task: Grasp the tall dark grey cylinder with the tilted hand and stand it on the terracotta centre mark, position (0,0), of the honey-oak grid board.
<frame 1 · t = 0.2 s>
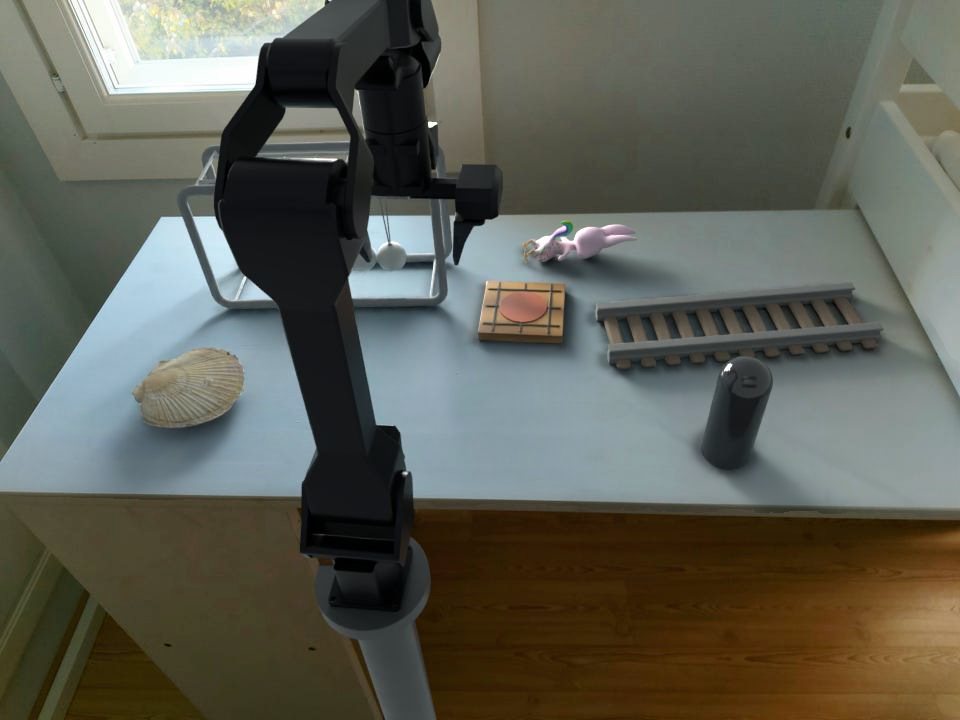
hand: (413, 261, 78), 14 cm above the table, tool pointing down, fingers open, 9 cm apart
model train track: (731, 329, 89), on the table
dark grey cylinder: (725, 450, 76), on the table
seashell: (194, 400, 85), on the table
newton's cradle: (338, 284, 99), on the table
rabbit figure: (578, 256, 101), on the table
board: (523, 314, 93), on the table
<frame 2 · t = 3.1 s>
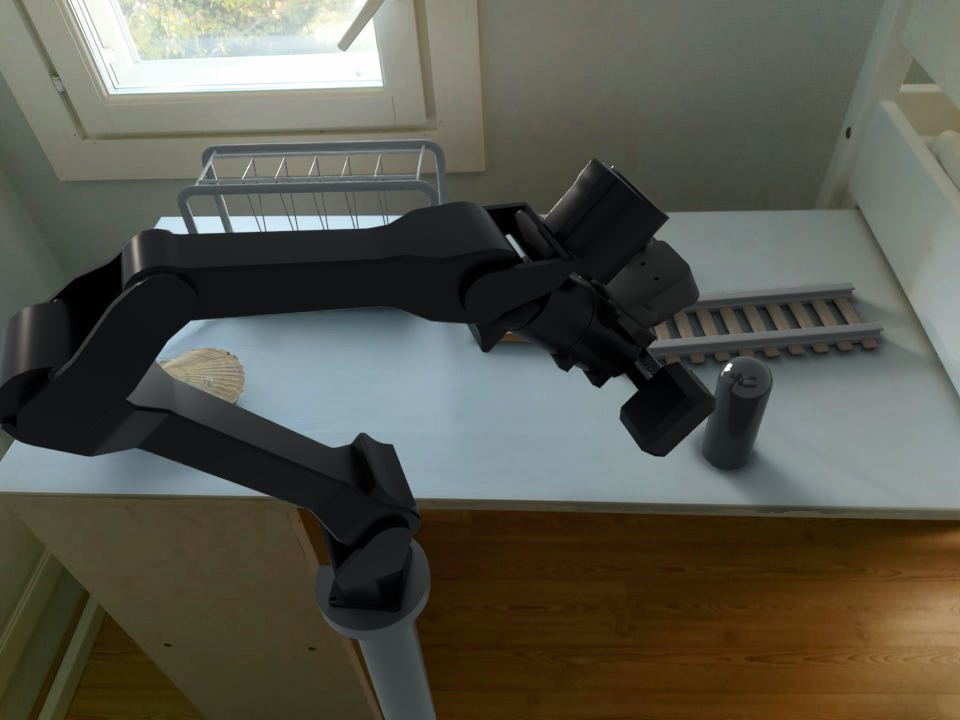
hand: (673, 379, 65), 13 cm above the table, tool tilted 45°, fingers open, 9 cm apart
nothing on the table moved.
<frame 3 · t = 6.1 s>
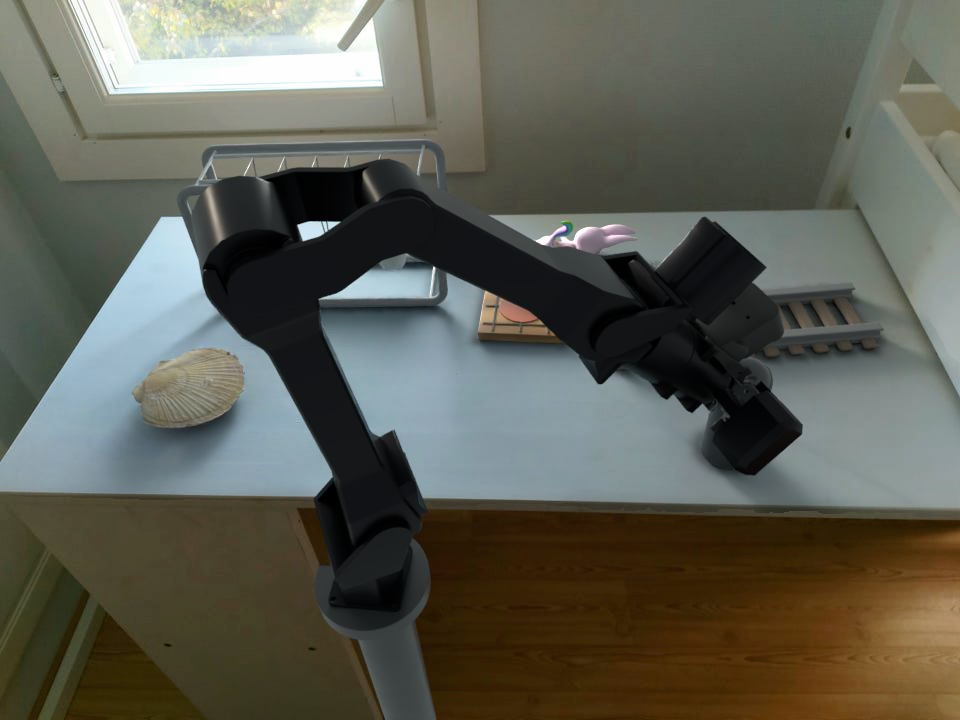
hand: (750, 402, 72), 7 cm above the table, tool tilted 45°, fingers closed on dark grey cylinder, 5 cm apart
dark grey cylinder: (725, 450, 76), on the table, touching gripper
everything else where it was.
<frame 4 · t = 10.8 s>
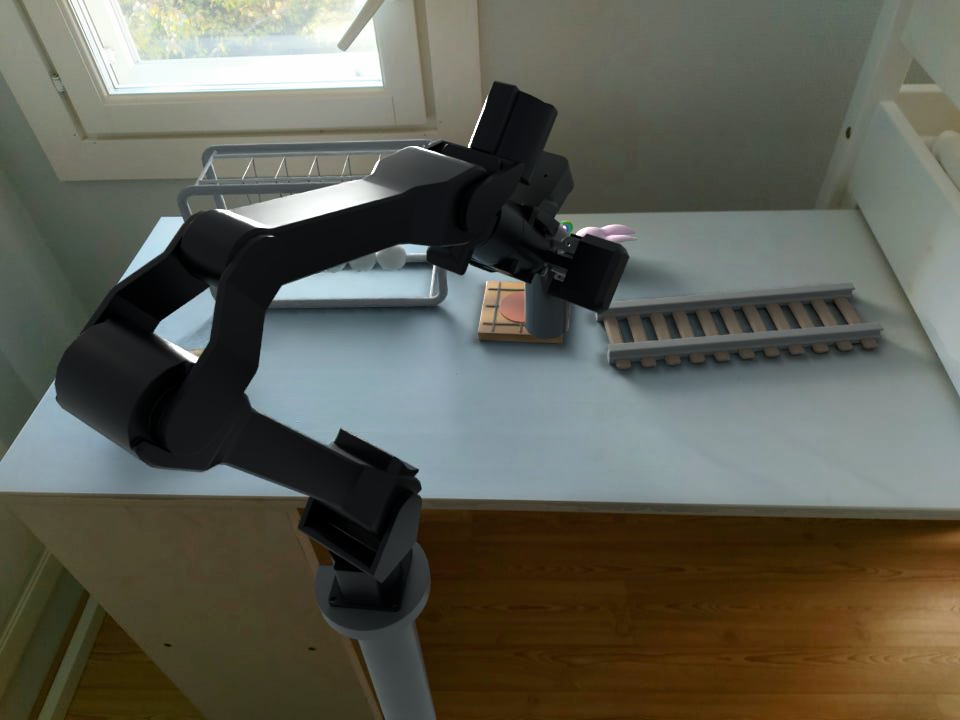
hand: (554, 268, 77), 14 cm above the table, tool tilted 45°, fingers closed on dark grey cylinder, 5 cm apart
dark grey cylinder: (546, 324, 81), point 7 cm above the table, touching gripper
everything else where it was.
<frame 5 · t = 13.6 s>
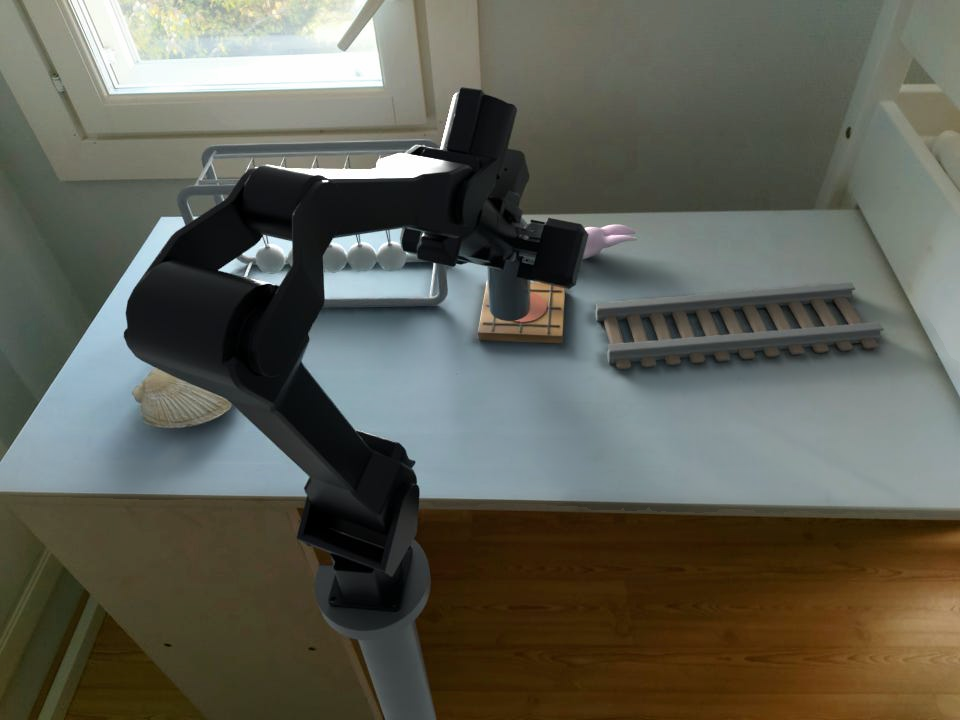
hand: (513, 255, 83), 11 cm above the table, tool tilted 45°, fingers closed on dark grey cylinder, 5 cm apart
dark grey cylinder: (509, 307, 87), point 4 cm above the table, touching gripper
everything else where it was.
when the fingers open (8 cm above the table, at t = 15.5 s): dark grey cylinder stays where it is, resting on board.
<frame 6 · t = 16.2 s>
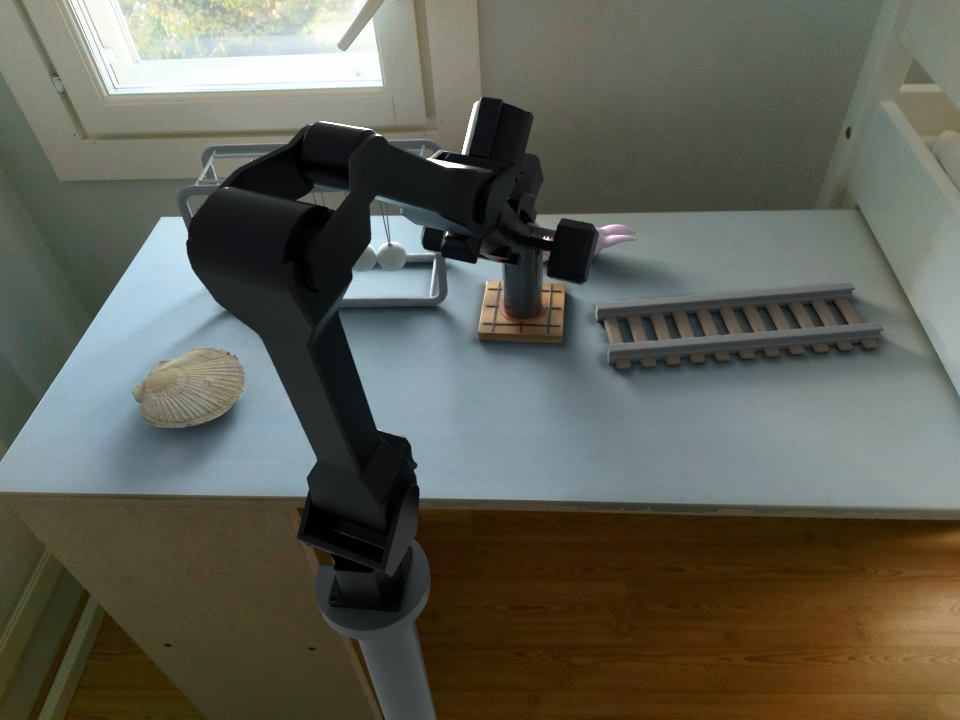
hand: (526, 252, 88), 8 cm above the table, tool tilted 45°, fingers open, 9 cm apart
dark grey cylinder: (522, 306, 92), point 1 cm above the table, touching board
everything else where it was.
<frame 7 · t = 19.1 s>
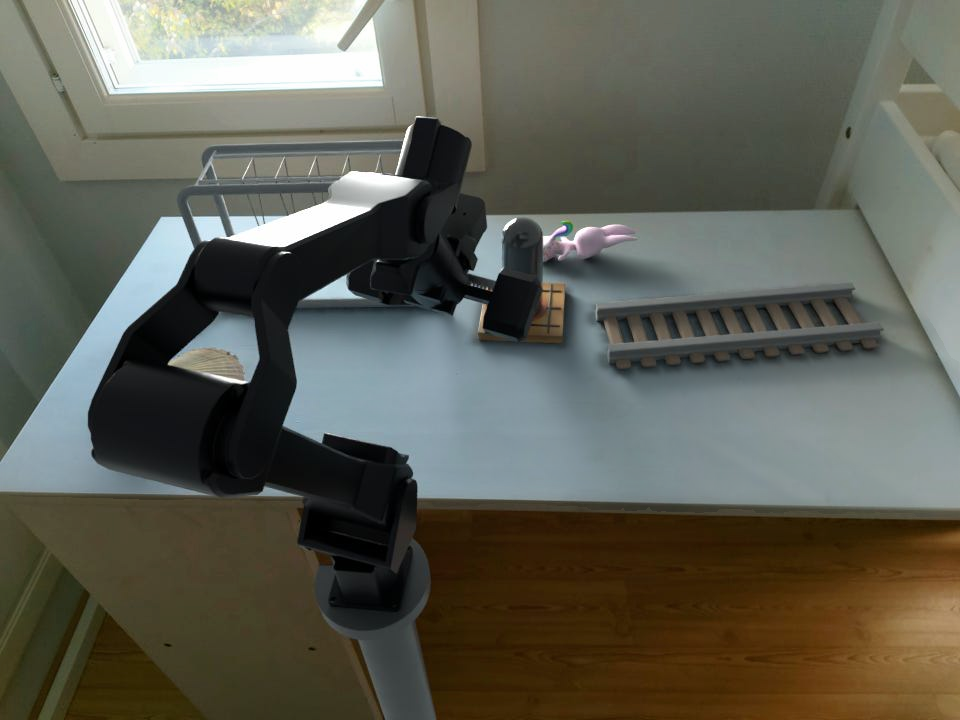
hand: (462, 310, 81), 9 cm above the table, tool tilted 35°, fingers open, 9 cm apart
nothing on the table moved.
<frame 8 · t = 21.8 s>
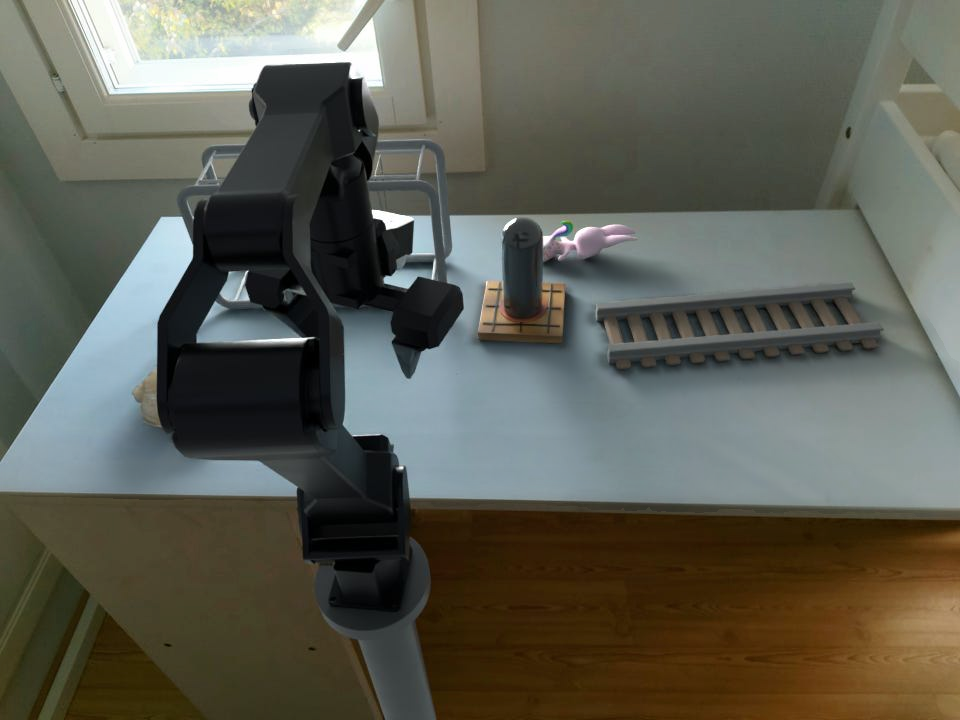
hand: (367, 363, 70), 12 cm above the table, tool pointing down, fingers open, 9 cm apart
nothing on the table moved.
at the end: dark grey cylinder 0.1 cm off-centre on the board, point 1.3 cm above the board's base; dark grey cylinder tilted 0°; the gripper is holding nothing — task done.
